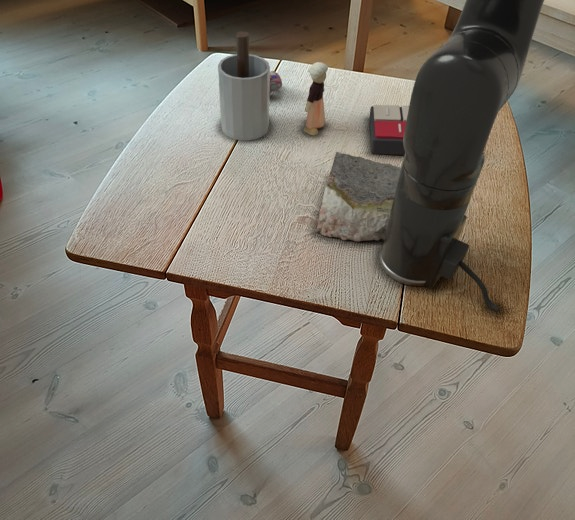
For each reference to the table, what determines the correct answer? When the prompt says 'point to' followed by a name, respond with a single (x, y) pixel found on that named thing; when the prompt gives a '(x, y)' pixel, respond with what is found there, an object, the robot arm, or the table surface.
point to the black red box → (387, 128)
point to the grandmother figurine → (316, 99)
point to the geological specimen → (357, 198)
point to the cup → (244, 98)
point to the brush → (242, 54)
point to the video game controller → (275, 81)
